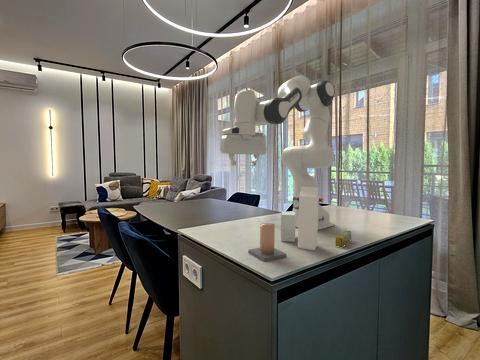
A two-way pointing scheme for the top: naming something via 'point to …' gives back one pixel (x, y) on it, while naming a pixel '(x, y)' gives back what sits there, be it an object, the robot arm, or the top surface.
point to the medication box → (343, 238)
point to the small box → (288, 226)
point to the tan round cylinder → (267, 238)
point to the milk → (308, 218)
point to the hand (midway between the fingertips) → (243, 165)
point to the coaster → (267, 257)
